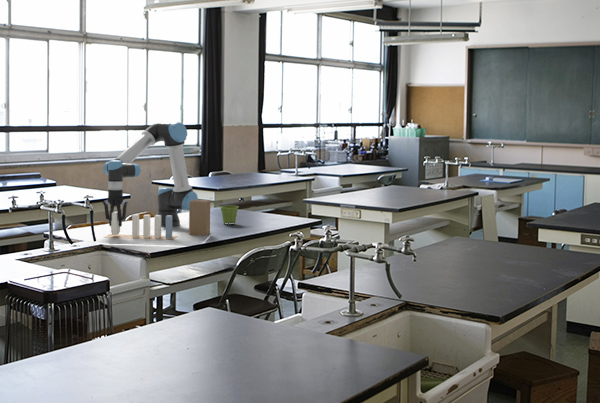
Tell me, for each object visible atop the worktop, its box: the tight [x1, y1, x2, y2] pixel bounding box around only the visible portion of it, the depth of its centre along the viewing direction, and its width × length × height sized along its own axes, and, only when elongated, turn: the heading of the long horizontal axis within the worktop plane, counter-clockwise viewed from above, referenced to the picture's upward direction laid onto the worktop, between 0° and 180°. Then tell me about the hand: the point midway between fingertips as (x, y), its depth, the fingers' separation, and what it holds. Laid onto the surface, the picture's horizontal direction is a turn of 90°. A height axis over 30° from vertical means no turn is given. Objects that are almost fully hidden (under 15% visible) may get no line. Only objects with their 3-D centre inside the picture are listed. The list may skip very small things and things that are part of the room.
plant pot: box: [219, 205, 239, 224], centre depth 427 cm, size 12×12×11 cm
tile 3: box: [142, 214, 151, 238], centre depth 366 cm, size 5×3×12 cm, turn 179°
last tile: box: [165, 215, 173, 239], centre depth 366 cm, size 5×3×12 cm, turn 179°
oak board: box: [103, 233, 179, 241], centre depth 367 cm, size 12×38×1 cm, turn 89°
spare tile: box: [111, 211, 120, 235], centre depth 366 cm, size 5×3×12 cm, turn 179°
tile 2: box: [131, 213, 140, 238], centre depth 366 cm, size 5×3×12 cm, turn 179°
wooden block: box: [188, 199, 211, 237], centre depth 381 cm, size 10×10×20 cm
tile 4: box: [153, 214, 162, 238], centre depth 366 cm, size 5×3×12 cm, turn 179°
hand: (115, 232), depth 367 cm, fingers closed on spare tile, 3 cm apart
